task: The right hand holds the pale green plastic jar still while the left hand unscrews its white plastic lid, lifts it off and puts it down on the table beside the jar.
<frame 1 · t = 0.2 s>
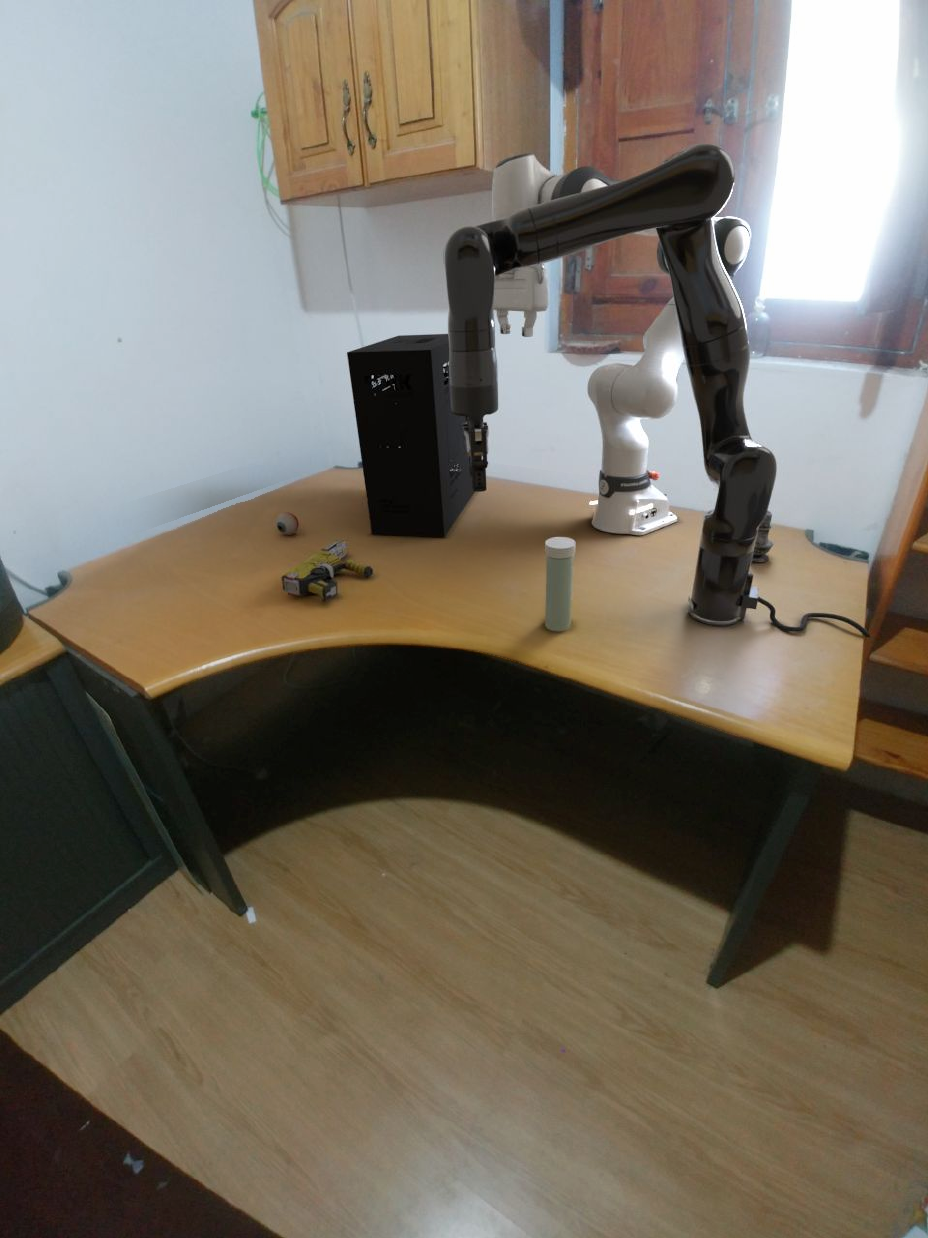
left hand: (516, 335, 125), 48 cm above the table, tool pointing down, fingers open, 8 cm apart
right hand: (477, 482, 101), 29 cm above the table, tool pointing down, fingers open, 8 cm apart
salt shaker: (755, 557, 138), on the table
lid: (560, 544, 108), point 17 cm above the table, screwed on, not yet turned
toy gun: (338, 579, 139), on the table
eyeball: (289, 534, 165), on the table
jar: (557, 625, 116), on the table
black boxy piece: (427, 511, 175), on the table
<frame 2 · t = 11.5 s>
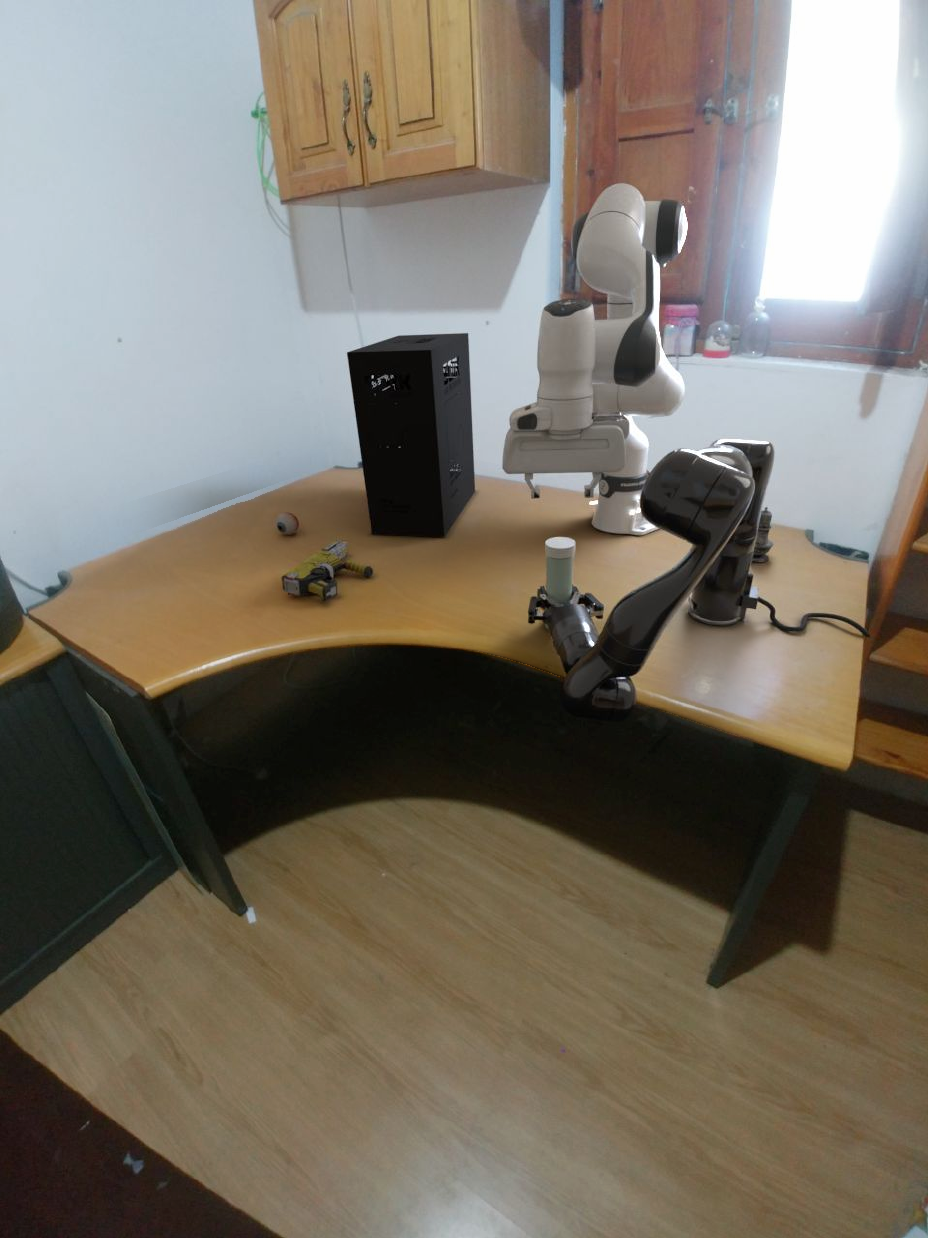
left hand: (561, 497, 104), 26 cm above the table, tool pointing down, fingers open, 8 cm apart
right hand: (555, 589, 115), 6 cm above the table, tool horizontal, fingers closed on jar, 5 cm apart
jar: (557, 625, 116), on the table, touching right hand
everything else where it was.
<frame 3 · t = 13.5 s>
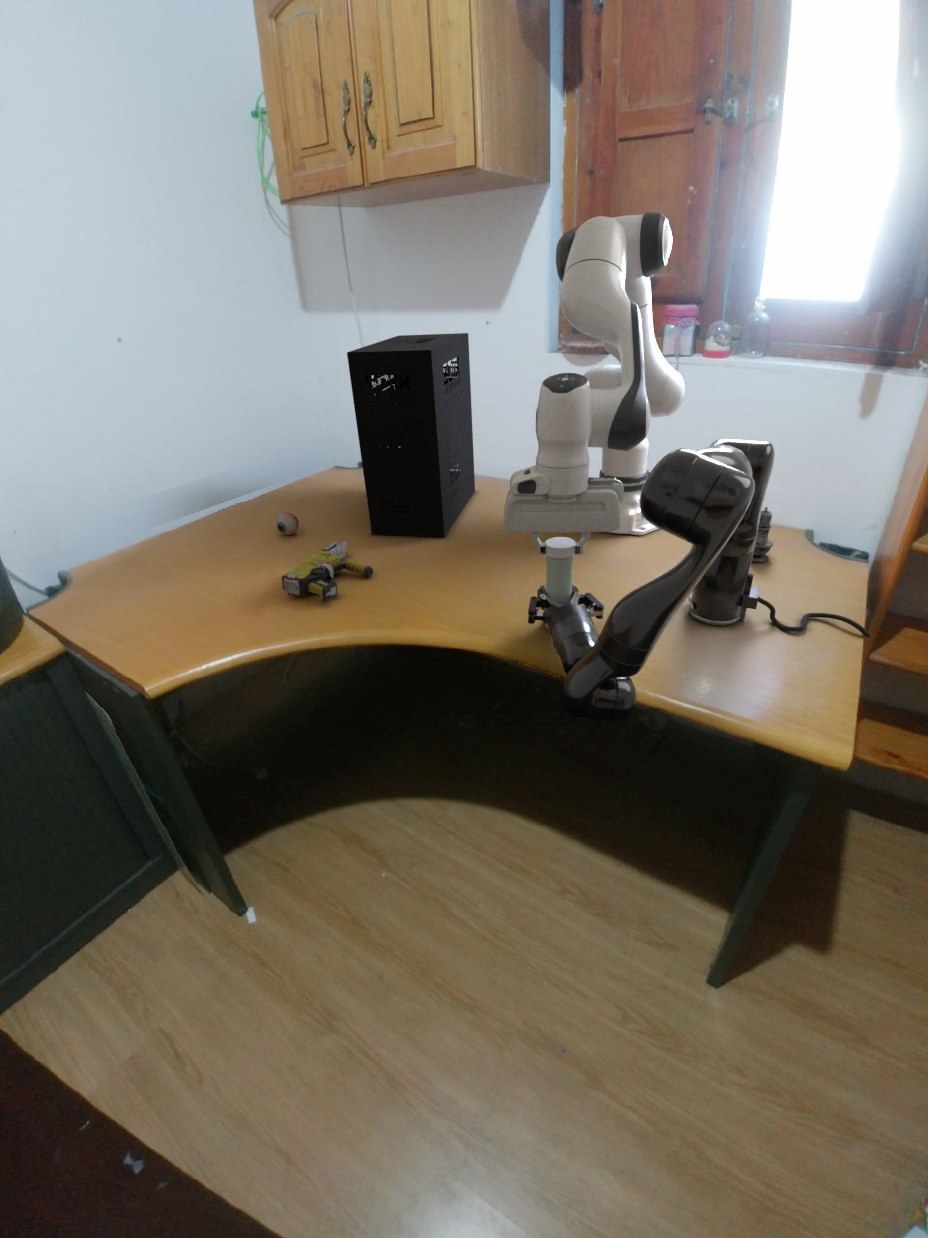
left hand: (559, 553, 109), 15 cm above the table, tool pointing down, fingers closed on lid, 5 cm apart
right hand: (556, 589, 115), 6 cm above the table, tool horizontal, fingers closed on jar, 5 cm apart
lid: (560, 544, 108), point 17 cm above the table, screwed on, not yet turned, touching left hand
jar: (557, 625, 116), on the table, touching right hand
everything else where it was.
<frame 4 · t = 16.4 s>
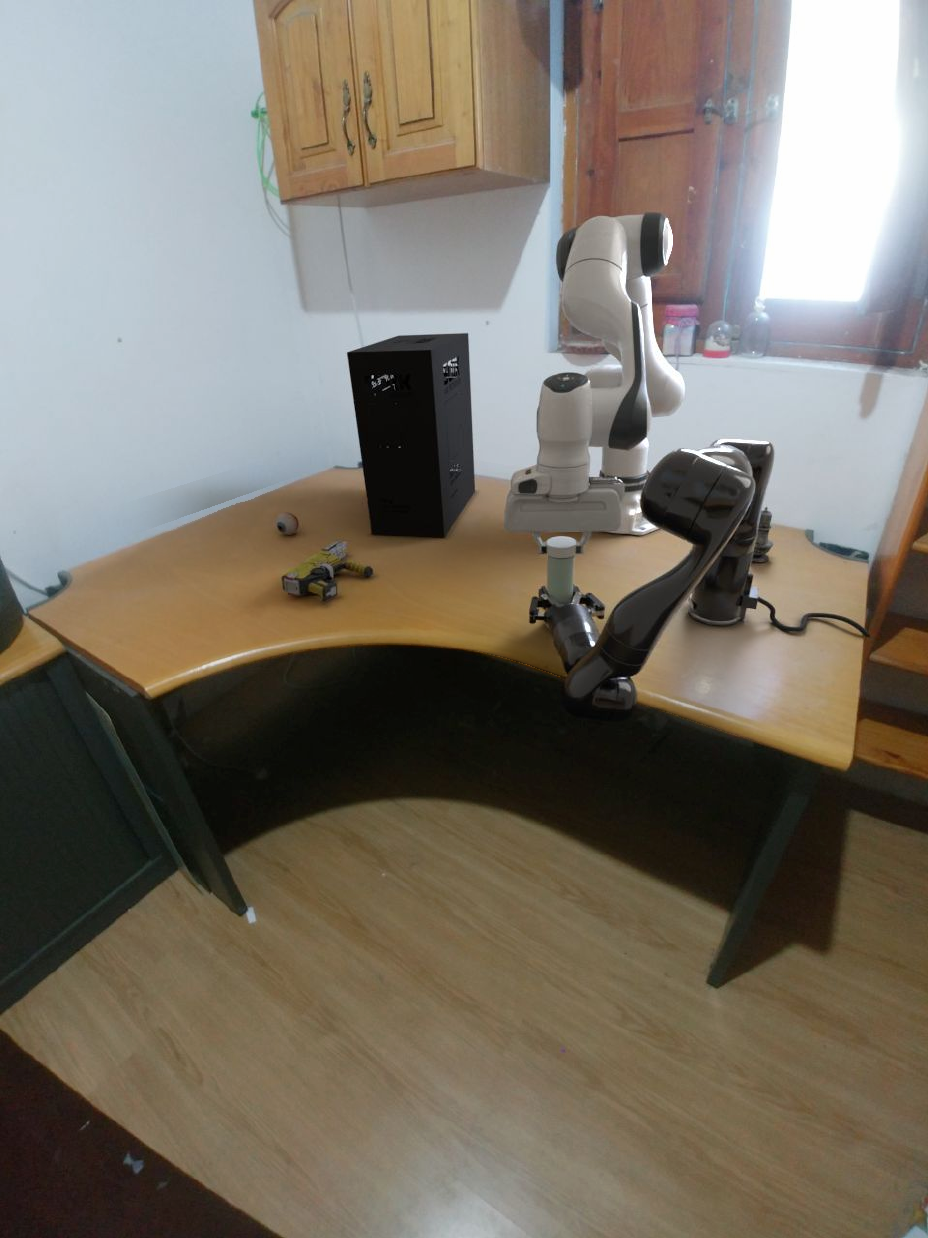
left hand: (560, 552, 109), 15 cm above the table, tool pointing down, fingers closed on lid, 5 cm apart
right hand: (557, 589, 115), 6 cm above the table, tool horizontal, fingers closed on jar, 5 cm apart
lid: (561, 543, 108), point 17 cm above the table, turned 74° so far, risen 0.1 cm, still on its thread, touching left hand
jar: (559, 625, 116), on the table, touching right hand
everything else where it was.
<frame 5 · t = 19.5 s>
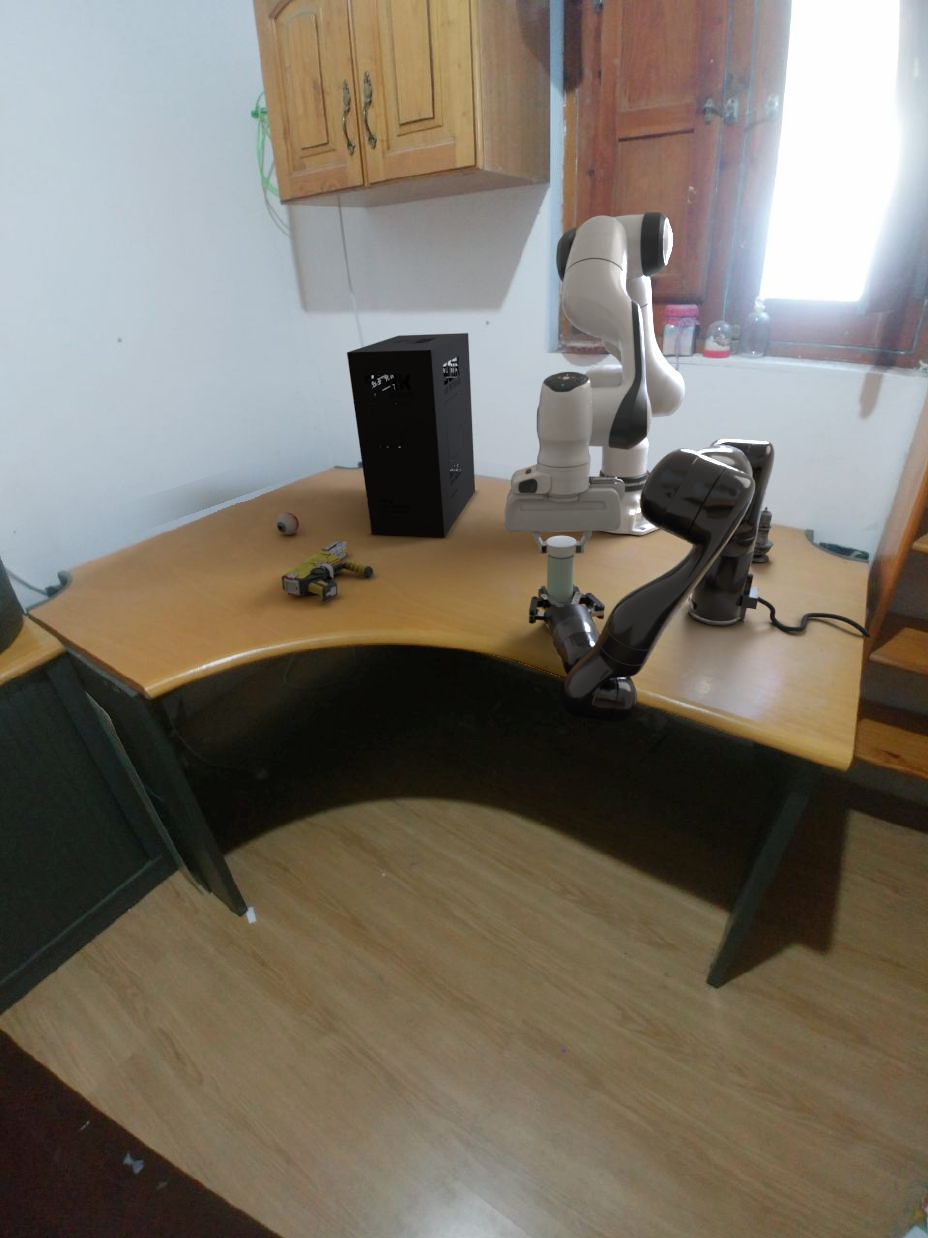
left hand: (560, 552, 109), 15 cm above the table, tool pointing down, fingers closed on lid, 5 cm apart
right hand: (557, 589, 115), 6 cm above the table, tool horizontal, fingers closed on jar, 5 cm apart
lid: (561, 543, 108), point 17 cm above the table, turned 147° so far, risen 0.2 cm, still on its thread, touching left hand
jar: (558, 625, 116), on the table, touching right hand
everything else where it was.
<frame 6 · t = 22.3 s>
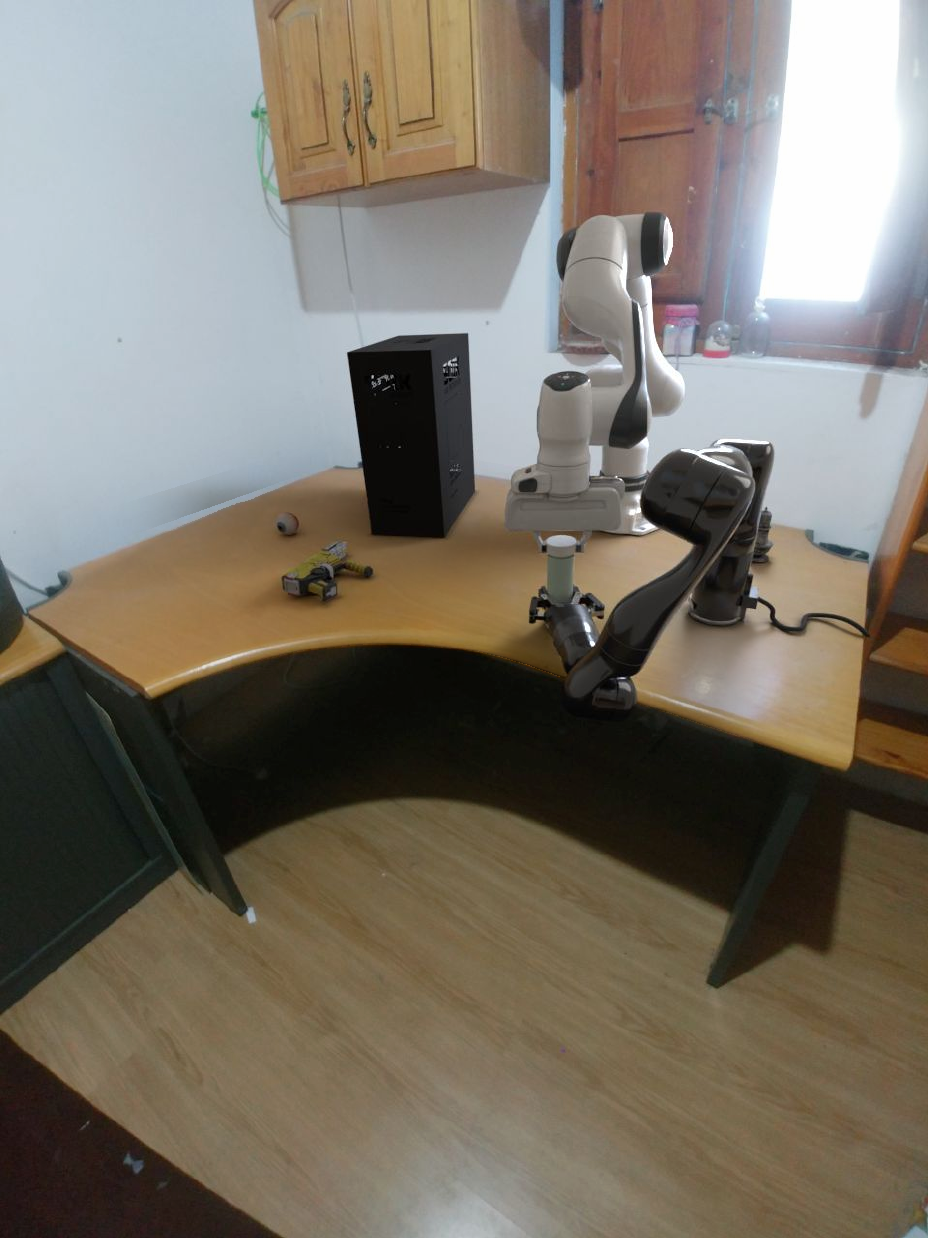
left hand: (560, 551, 109), 15 cm above the table, tool pointing down, fingers closed on lid, 5 cm apart
right hand: (556, 589, 115), 6 cm above the table, tool horizontal, fingers closed on jar, 5 cm apart
lid: (561, 542, 108), point 17 cm above the table, turned 221° so far, risen 0.3 cm, still on its thread, touching left hand
jar: (558, 625, 116), on the table, touching right hand
everything else where it was.
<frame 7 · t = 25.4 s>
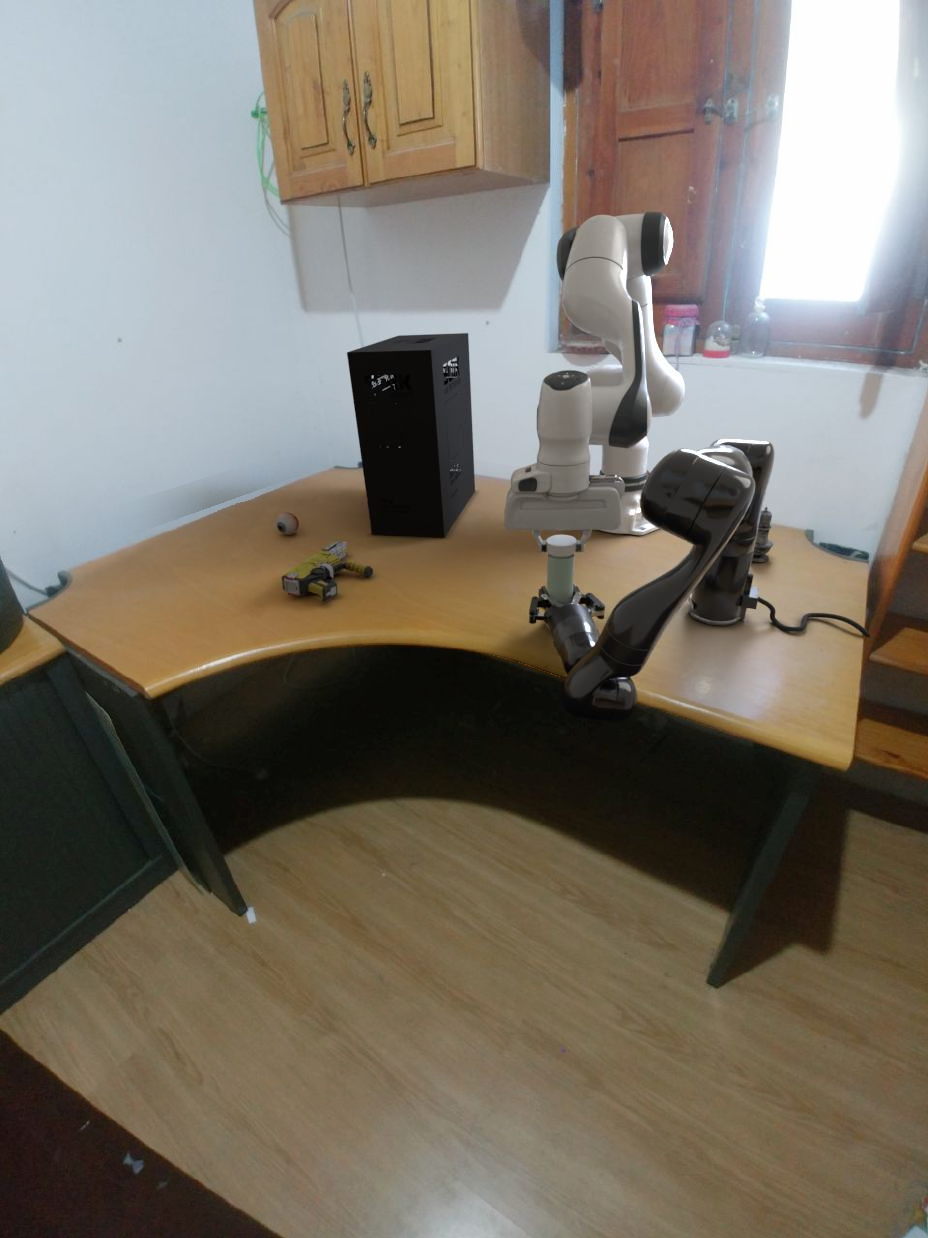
left hand: (560, 551, 109), 15 cm above the table, tool pointing down, fingers closed on lid, 5 cm apart
right hand: (557, 589, 115), 6 cm above the table, tool horizontal, fingers closed on jar, 5 cm apart
lid: (561, 542, 108), point 17 cm above the table, turned 295° so far, risen 0.4 cm, still on its thread, touching left hand
jar: (559, 625, 116), on the table, touching right hand
everything else where it was.
when the left hand's fingers open (2 cm above the table, at t = 34.4 s): lid drops 2 cm, point 2 cm above the table.
when the right hand's fingers open (6 cm above the table, at t = 35.5 s): jar stays where it is, on the table.
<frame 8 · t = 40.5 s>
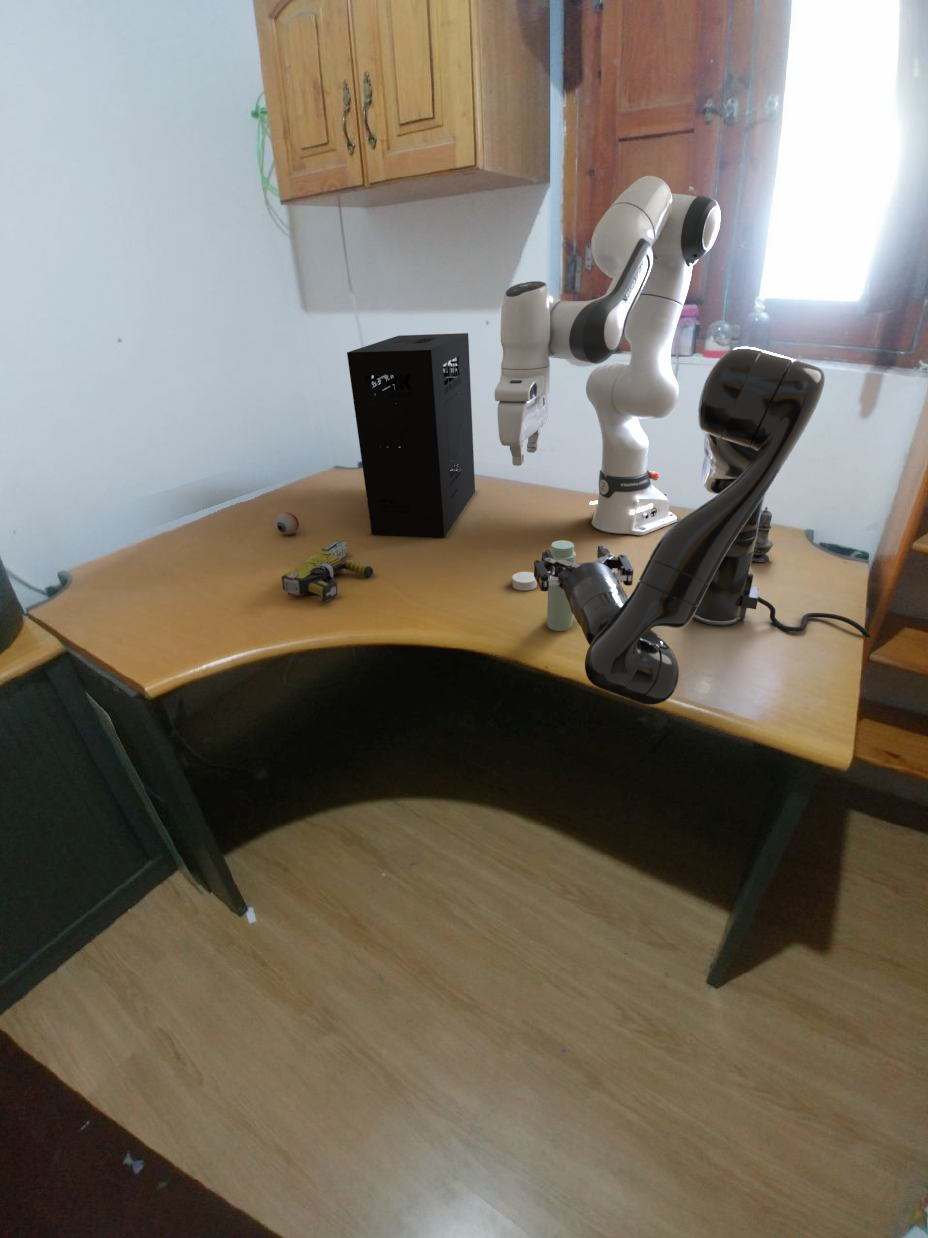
left hand: (525, 457, 118), 28 cm above the table, tool pointing down, fingers open, 8 cm apart
right hand: (573, 552, 97), 20 cm above the table, tool horizontal, fingers open, 8 cm apart
lid: (524, 578, 131), point 2 cm above the table, off its thread
jar: (559, 624, 116), on the table
everything else where it was.
at the end: lid came off its thread; lid point 1.6 cm above the table; the left hand is holding nothing; the right hand is holding nothing; jar tilted 0°; jar moved 0.4 cm from its start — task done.
